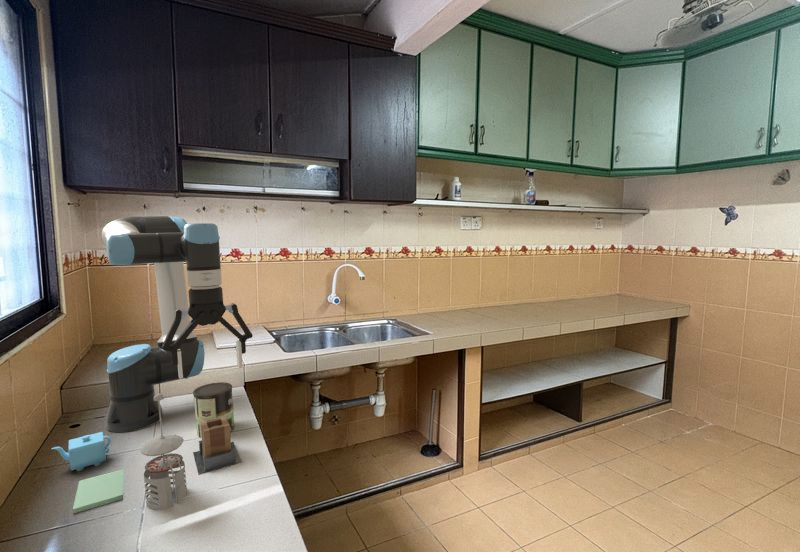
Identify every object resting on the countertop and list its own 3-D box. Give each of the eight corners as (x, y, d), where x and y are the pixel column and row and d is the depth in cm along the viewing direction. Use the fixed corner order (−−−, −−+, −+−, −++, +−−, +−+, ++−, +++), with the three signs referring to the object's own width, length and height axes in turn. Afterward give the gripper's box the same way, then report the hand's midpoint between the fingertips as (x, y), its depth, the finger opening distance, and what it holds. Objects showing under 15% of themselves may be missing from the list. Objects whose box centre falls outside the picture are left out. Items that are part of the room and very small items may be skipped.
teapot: (53, 479, 101) (50, 450, 100) (54, 468, 106) (51, 440, 105) (113, 462, 108) (110, 434, 107) (111, 452, 113) (109, 425, 112)
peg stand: (193, 457, 109) (190, 423, 108) (233, 446, 115) (231, 413, 114) (199, 480, 99) (196, 443, 98) (242, 467, 105) (240, 431, 103)
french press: (181, 484, 98) (172, 382, 95) (204, 504, 91) (196, 394, 88) (134, 506, 90) (123, 395, 88) (155, 530, 83) (144, 410, 80)
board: (79, 484, 98) (79, 480, 98) (130, 471, 104) (129, 467, 104) (73, 513, 88) (72, 509, 88) (129, 497, 94) (128, 492, 93)
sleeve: (202, 455, 108) (200, 422, 107) (227, 448, 111) (225, 416, 110) (206, 466, 103) (203, 431, 102) (231, 458, 106) (229, 425, 105)
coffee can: (233, 423, 128) (230, 379, 127) (236, 438, 119) (233, 391, 117) (196, 431, 124) (193, 385, 122) (196, 447, 115) (192, 398, 113)
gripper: (145, 293, 92) (154, 386, 94) (261, 284, 105) (266, 365, 107) (145, 290, 98) (153, 377, 101) (254, 281, 111) (259, 358, 114)
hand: (211, 371), depth 104 cm, fingers open, 13 cm apart
